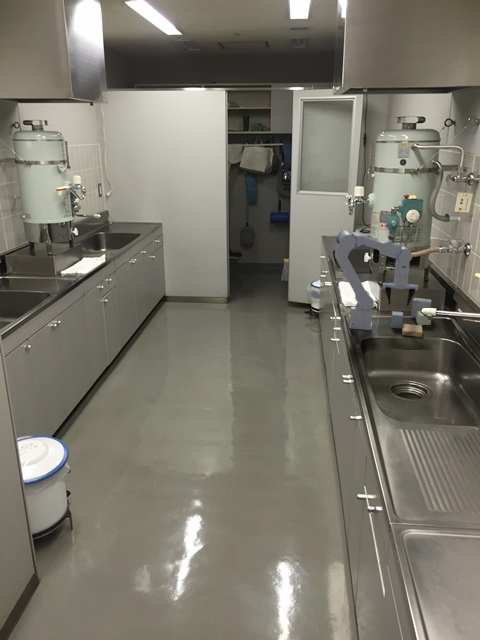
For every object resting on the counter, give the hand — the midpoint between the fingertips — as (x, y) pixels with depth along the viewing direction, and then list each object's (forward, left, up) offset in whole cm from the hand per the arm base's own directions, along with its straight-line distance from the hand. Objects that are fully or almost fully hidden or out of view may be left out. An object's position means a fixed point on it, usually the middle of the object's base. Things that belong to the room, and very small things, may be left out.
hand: (398, 304), depth 228 cm
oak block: (+6, -6, -10) cm, 14 cm away
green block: (+11, +6, -10) cm, 17 cm away
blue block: (0, 0, -10) cm, 10 cm away
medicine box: (+10, +13, -10) cm, 20 cm away
